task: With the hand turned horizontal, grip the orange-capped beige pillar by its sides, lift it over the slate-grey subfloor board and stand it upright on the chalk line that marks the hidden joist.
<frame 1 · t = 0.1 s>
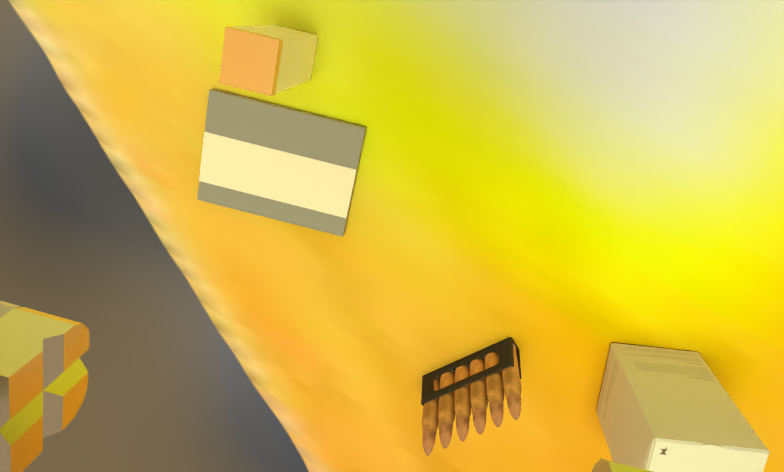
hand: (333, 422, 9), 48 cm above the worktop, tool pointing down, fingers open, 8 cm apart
supplement box: (645, 382, 62), on the worktop
ammunition clip: (469, 362, 64), on the worktop
orange-capped beige pillar: (293, 52, 55), on the worktop
subfloor board: (281, 163, 58), on the worktop
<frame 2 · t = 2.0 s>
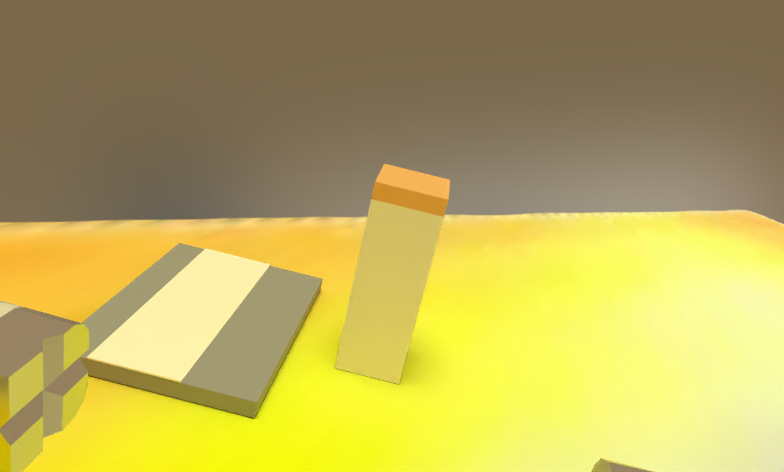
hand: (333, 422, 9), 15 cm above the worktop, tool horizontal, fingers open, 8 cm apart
orange-capped beige pillar: (371, 358, 38), on the worktop
subfloor board: (209, 321, 38), on the worktop
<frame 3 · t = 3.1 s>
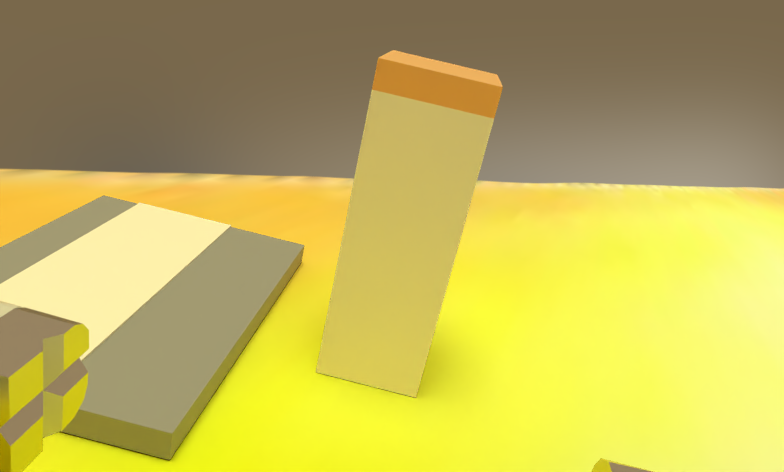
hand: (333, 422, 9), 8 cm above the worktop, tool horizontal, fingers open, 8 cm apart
orange-capped beige pillar: (373, 357, 25), on the worktop
subfloor board: (126, 300, 25), on the worktop
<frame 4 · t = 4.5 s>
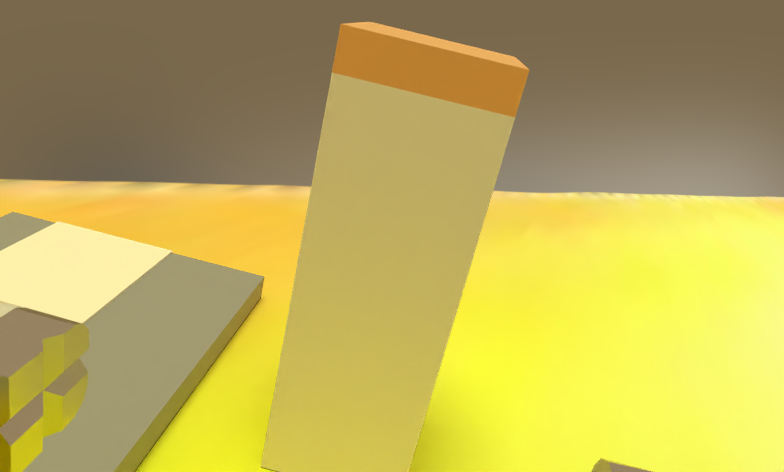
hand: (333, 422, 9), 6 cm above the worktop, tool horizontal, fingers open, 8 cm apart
orange-capped beige pillar: (343, 438, 19), on the worktop
subfloor board: (10, 360, 18), on the worktop
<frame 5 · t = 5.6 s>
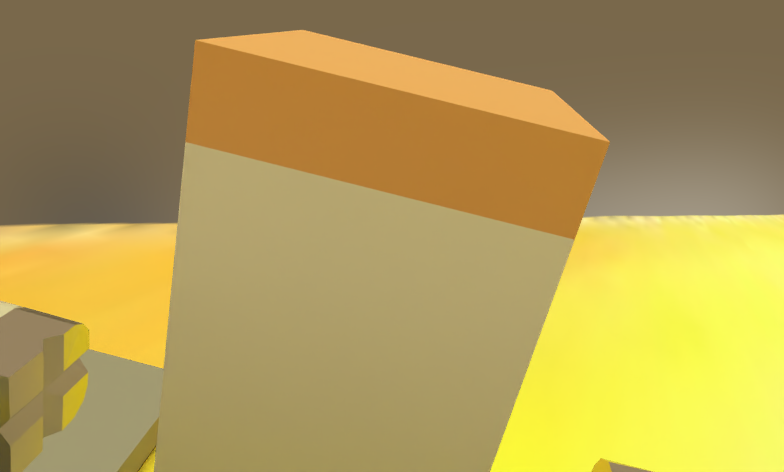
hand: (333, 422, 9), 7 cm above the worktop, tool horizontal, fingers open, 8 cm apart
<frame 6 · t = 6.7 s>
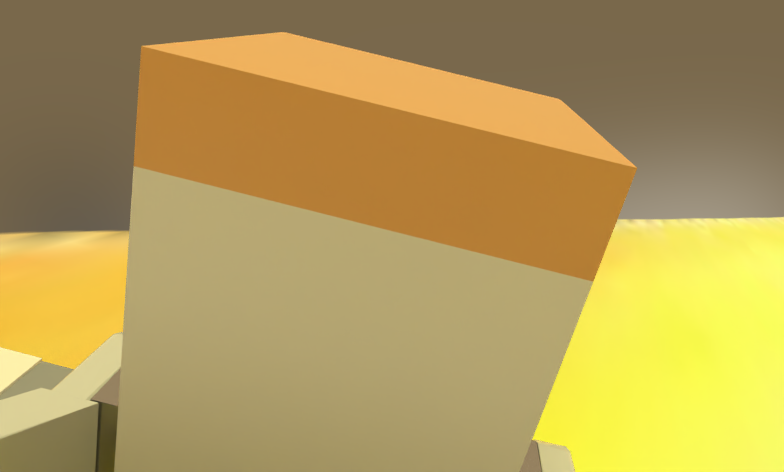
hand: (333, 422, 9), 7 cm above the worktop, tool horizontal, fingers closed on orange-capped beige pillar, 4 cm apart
when the fingers open (8 cm above the worktop, at t = 11.9 s): orange-capped beige pillar stays where it is, resting on subfloor board.
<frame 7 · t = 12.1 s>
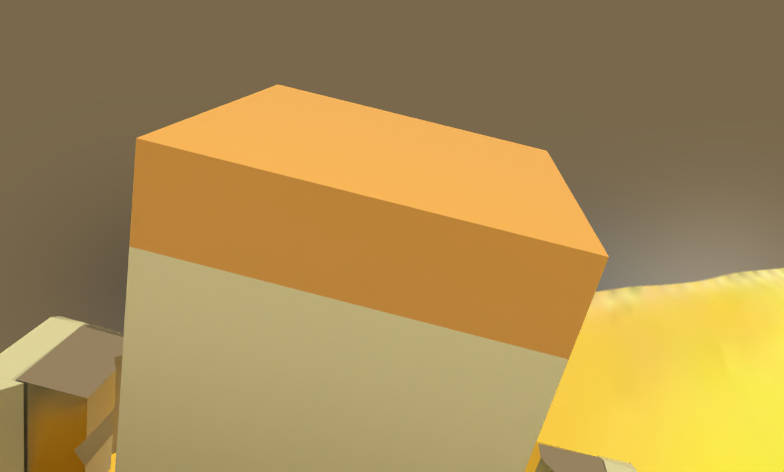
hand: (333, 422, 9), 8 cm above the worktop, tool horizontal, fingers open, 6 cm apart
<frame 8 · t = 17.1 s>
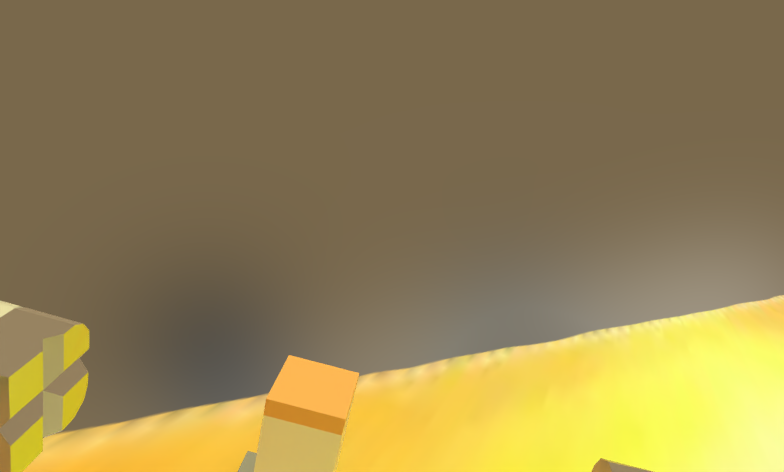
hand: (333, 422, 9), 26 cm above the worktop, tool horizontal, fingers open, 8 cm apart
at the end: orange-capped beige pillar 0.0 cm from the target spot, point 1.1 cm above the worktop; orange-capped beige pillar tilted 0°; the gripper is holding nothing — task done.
